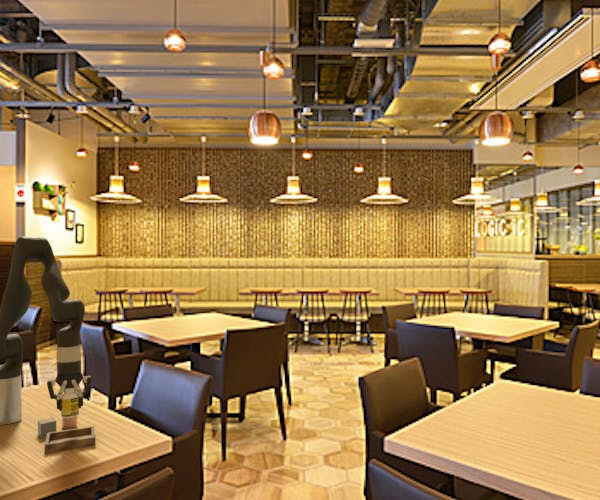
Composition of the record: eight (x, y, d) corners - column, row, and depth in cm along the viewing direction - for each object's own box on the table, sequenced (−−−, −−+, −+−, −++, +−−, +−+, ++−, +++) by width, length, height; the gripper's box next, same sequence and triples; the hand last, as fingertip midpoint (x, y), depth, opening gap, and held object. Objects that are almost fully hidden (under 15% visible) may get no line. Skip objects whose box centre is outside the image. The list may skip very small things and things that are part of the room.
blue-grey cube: (41, 438, 176) (40, 424, 176) (38, 434, 180) (37, 420, 180) (56, 434, 179) (56, 420, 179) (53, 431, 183) (53, 417, 183)
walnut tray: (44, 453, 162) (44, 444, 162) (47, 440, 173) (47, 432, 173) (95, 445, 168) (94, 437, 168) (94, 433, 179) (94, 425, 179)
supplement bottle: (72, 419, 167) (71, 389, 167) (57, 418, 169) (57, 389, 169) (82, 414, 173) (81, 385, 173) (68, 413, 174) (67, 384, 174)
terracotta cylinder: (65, 430, 183) (65, 413, 183) (59, 426, 187) (60, 410, 187) (79, 426, 187) (79, 410, 187) (73, 423, 190) (74, 407, 190)
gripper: (91, 354, 177) (93, 403, 177) (46, 359, 171) (47, 408, 171) (92, 358, 170) (93, 409, 170) (44, 363, 164) (45, 415, 164)
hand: (70, 408), depth 171 cm, fingers closed on supplement bottle, 5 cm apart
